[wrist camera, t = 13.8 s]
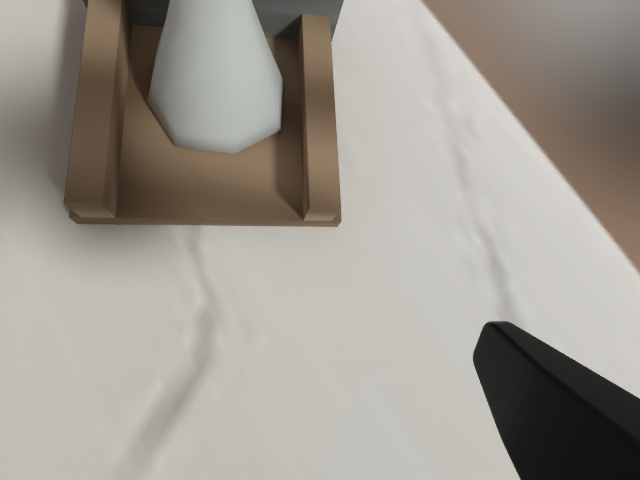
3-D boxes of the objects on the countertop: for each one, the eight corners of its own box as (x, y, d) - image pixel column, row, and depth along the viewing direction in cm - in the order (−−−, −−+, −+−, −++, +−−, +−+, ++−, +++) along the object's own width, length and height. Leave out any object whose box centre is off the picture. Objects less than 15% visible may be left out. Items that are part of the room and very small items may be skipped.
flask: (135, 46, 22) (59, -182, 13) (267, 32, 24) (287, -177, 15) (162, 168, 21) (97, 13, 11) (300, 145, 23) (345, -7, 13)
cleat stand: (337, 226, 23) (369, 183, 17) (77, 223, 20) (14, 172, 15) (325, 27, 26) (350, -64, 20) (101, 4, 24) (58, -106, 18)
